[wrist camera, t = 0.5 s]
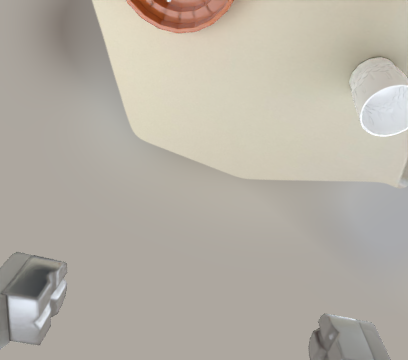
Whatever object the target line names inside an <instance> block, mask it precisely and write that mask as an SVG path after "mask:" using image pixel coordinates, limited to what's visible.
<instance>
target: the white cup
mask: <svg viewBox="0 0 408 360" xmlns="http://www.w3.org/2000/svg"><path fill="white" fill-rule="evenodd" d="M349 83H350V88H351V92H352V97H353V101H354V104H355V108H356V111H357V114H358V117H359V120H360V123H361V125H362V127H363V128H364V129H365V130H366V131H367V132H368V133H370V134H373V135H376V136H391V135H395V134H398V133H401V132H403V131H405V130H407V129H408V77H407V76H406V75H405V74H404V73H403V72H402V71H401V70H400V69H399V68H397V67H396V66H395V65H394V64H393V63H392V62H391V61H390V60H389V59H385V58H382V57H378V58H372V59H368V60H366V61H365V62H363V63H361V64H359V65H358V67H357V68H356V69H355V70H354V71H353V72H352V75H351V78H350V81H349Z"/></svg>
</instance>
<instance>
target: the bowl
mask: <svg viewBox="0 0 408 360" xmlns="http://www.w3.org/2000/svg"><path fill="white" fill-rule="evenodd" d="M126 1H127V3H128V4H129V5H130V6H131V7H132V8H133V9H134V10H135V11H136V13H137V14H138V15H139V16H140V17H141V18H142V19H144V20H145V21H147V22H149V23H150V24H152V25H154V26H155V27H157V28H159V29H162V30H166V31H170V32H174V33H186V32H196V31H199V30H201V29H203V28H205V27H208V26H210V25H212V24H214V23H215V22H216V21H217V20H218V19H219V18H220V17H221V16H223V15H224V14H225V13H226V12H227V11H228V9H229V8H230V6H231V4H232V3H233V1H234V0H171V2H167V0H126Z"/></svg>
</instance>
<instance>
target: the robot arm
mask: <svg viewBox="0 0 408 360" xmlns="http://www.w3.org/2000/svg"><path fill="white" fill-rule="evenodd" d="M66 273H67V263H65V262H61V261H57V260H53V259H48V258H44V257H39V256H35V255H29V254H25V253H20V252H16V253H14V254H12V255H11V256H10V258H9V259H8V260H7V261H6V262H5V263H4V264H3V266H2V267H1V268H0V349H1V348H3V347H4V346H5V345H7V344H8V343H9V341H15V342H22V343H27V344H34V345H40V344H41V342H42V341H43V339H44V337H45V335H46V333H47V332H48V330H49V328H50V326H51V317H53V316H54V315H56V314H57V313H58V312H59V309H60V308H61V306H62V304H63V301H64V298H65V294H66V289H67V282H66V281H65V280H64V276H65V275H66ZM318 323H319V326H320V328H318V329H317V330H315V331H313V333H312V335H311V337H310V341H309V356H310V360H391V359H390V357H389V355H388V353H387V351H386V348H385V346H384V344H383V342H382V340H381V338H380V336H379V334H378V331H377V329H376V327H375V325H374V324H372V322H367V321H361V320H354V319H350V318H345V317H340V316H335V315H329V314H323V315H322V316H321V317H320V319H319V322H318Z"/></svg>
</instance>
